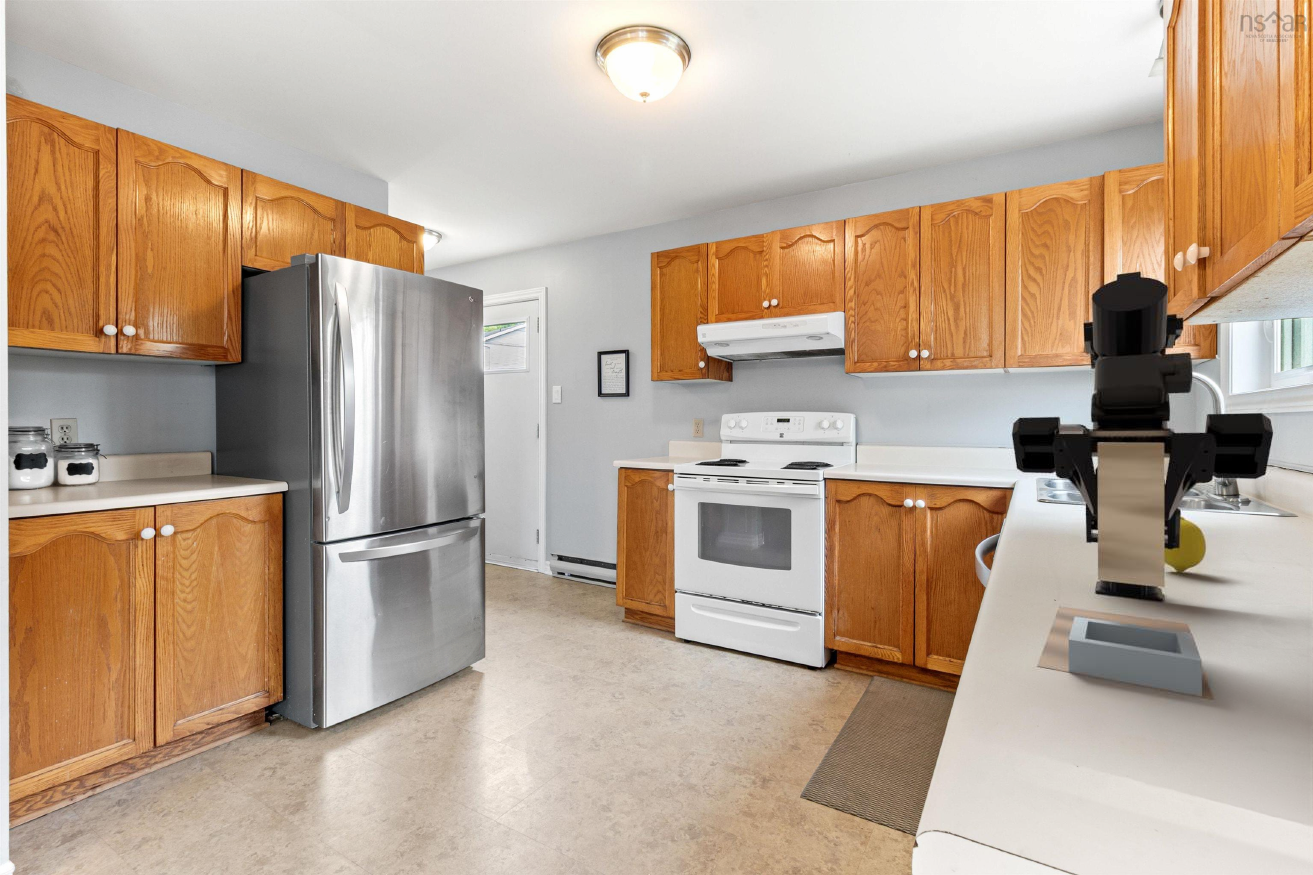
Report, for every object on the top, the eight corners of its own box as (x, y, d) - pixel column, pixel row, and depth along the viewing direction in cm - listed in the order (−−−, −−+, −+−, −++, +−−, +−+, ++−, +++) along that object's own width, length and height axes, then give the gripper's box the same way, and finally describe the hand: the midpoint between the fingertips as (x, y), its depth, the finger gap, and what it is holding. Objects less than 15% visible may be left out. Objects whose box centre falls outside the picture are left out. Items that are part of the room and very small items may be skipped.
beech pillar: (1099, 571, 58) (1099, 442, 58) (1161, 577, 55) (1161, 442, 55) (1098, 579, 54) (1097, 442, 54) (1164, 587, 51) (1164, 442, 51)
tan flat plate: (1059, 615, 67) (1059, 606, 67) (1187, 633, 61) (1187, 623, 61) (1037, 678, 49) (1037, 665, 49) (1213, 713, 43) (1213, 699, 43)
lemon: (1155, 566, 92) (1155, 513, 92) (1205, 571, 89) (1204, 516, 89) (1154, 573, 88) (1154, 516, 88) (1207, 578, 85) (1206, 520, 85)
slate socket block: (1074, 644, 54) (1074, 616, 54) (1191, 664, 50) (1191, 633, 50) (1068, 671, 48) (1068, 639, 48) (1201, 696, 43) (1201, 660, 44)
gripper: (1014, 339, 63) (997, 448, 55) (1268, 317, 52) (1298, 450, 43) (1024, 418, 70) (1010, 527, 61) (1253, 414, 58) (1276, 547, 50)
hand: (1130, 514), depth 53 cm, fingers closed on beech pillar, 4 cm apart
